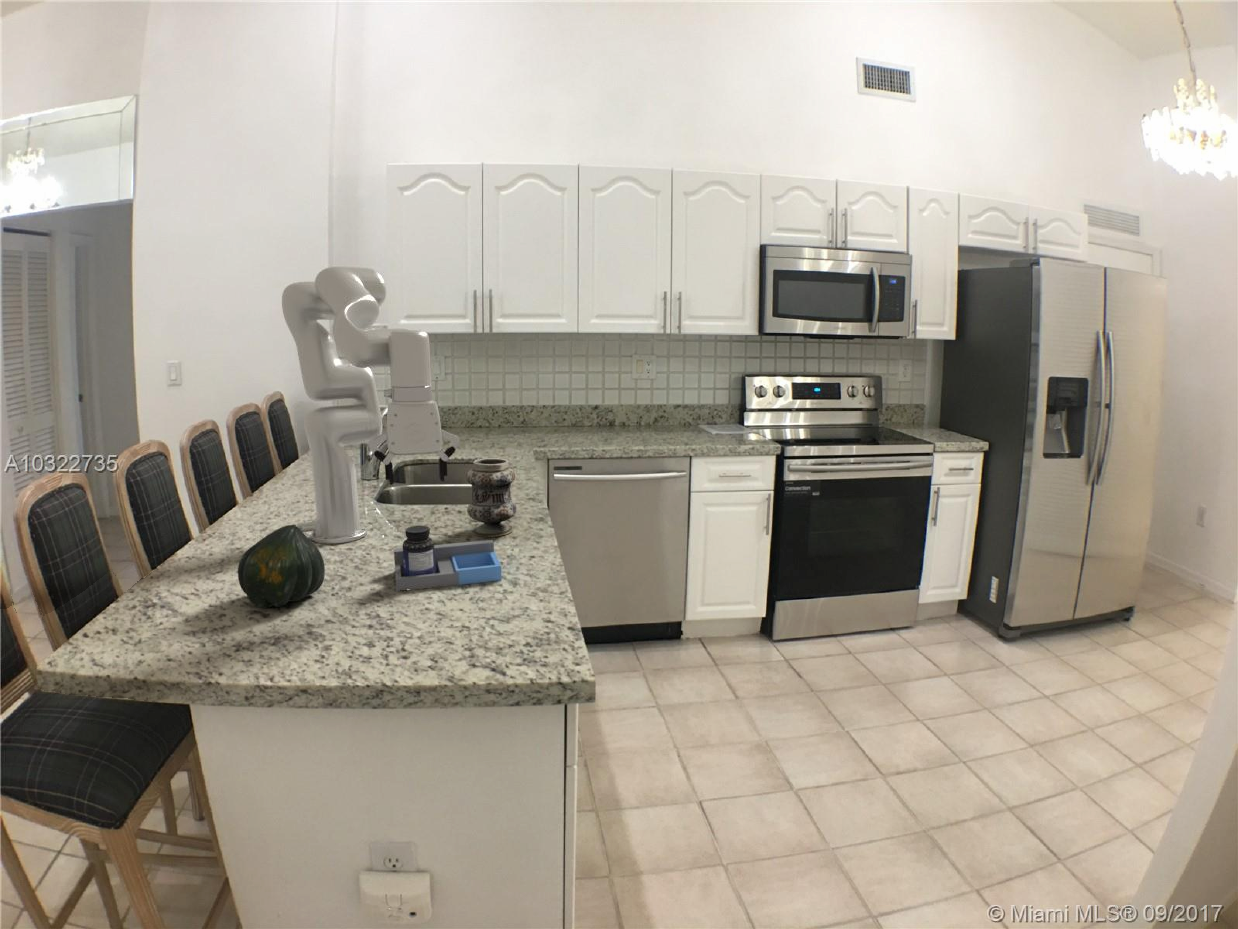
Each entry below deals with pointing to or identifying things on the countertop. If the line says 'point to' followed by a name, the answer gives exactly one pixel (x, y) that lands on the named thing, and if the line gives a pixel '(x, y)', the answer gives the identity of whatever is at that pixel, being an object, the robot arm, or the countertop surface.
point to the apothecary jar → (491, 496)
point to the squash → (281, 568)
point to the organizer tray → (453, 566)
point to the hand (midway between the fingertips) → (417, 481)
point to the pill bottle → (418, 551)
